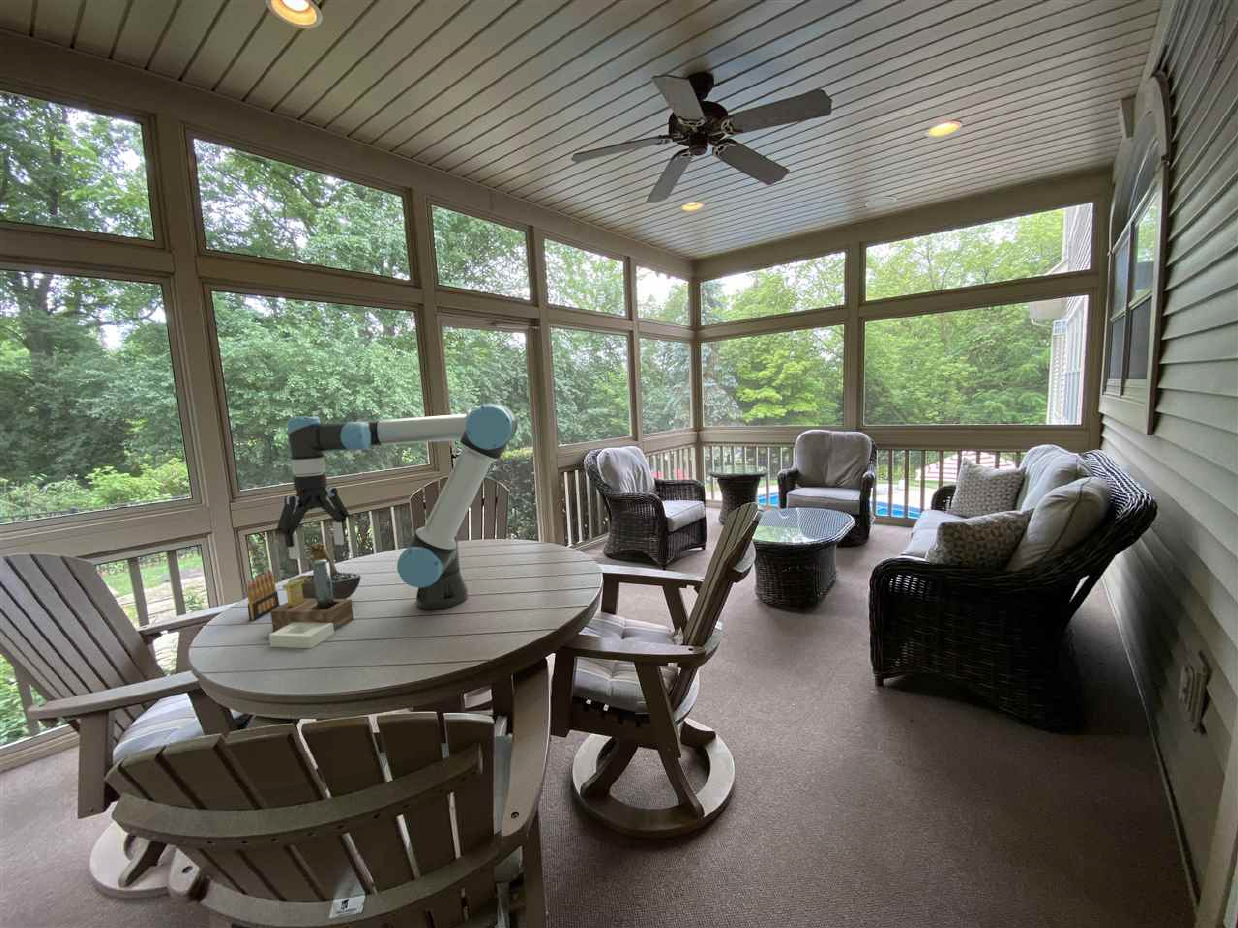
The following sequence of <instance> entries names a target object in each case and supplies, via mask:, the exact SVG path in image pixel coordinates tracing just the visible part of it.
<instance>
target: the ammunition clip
mask: <svg viewBox="0 0 1238 928" xmlns="http://www.w3.org/2000/svg"><path fill="white" fill-rule="evenodd" d="M247 601H248V603H247V613H248V621H249V622H250V621H251V622H254V621H257V620H259V619H261V618H262V617H264V616H265V615H268V614H269V613H270V611H271V610H273V609H275V608H277V607H279V606H280V601H279V594H278V590H277V589H276V583H275V580H274V574H273V572H272V571H271V570H270V569H268V573H267V572H265V573H264V575H263V573H261V574H260V577H259V575H257V576H256V579H255V577H253V578H252V581H251V580H250V579H249V580H248V581H247Z"/></svg>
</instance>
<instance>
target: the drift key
mask: <svg viewBox="0 0 1238 928" xmlns="http://www.w3.org/2000/svg"><path fill="white" fill-rule="evenodd" d="M302 583H305V582H304V579H296V580H293V581H291V582H289V581H288V582H287V583H284V584H282V590H285V591H286V597H287V602H288V606H289V608H293V607H295V606H297V605H299V604H301V603H303V602H304V600H303V592H302Z"/></svg>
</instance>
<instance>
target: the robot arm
mask: <svg viewBox="0 0 1238 928" xmlns="http://www.w3.org/2000/svg"><path fill="white" fill-rule="evenodd" d="M517 430H518V420H517V416H516V415H515V413H514V412H513V411H512V410H511V408H508V406H505V405H502V404H496V403H485V404H482V405H479V406H477V407H476V408H475V409H469V411H468V412H467V413H459V414H458V413H455V414H447V415H446V414H445V415H443V414H442V415H429V416H419V417H417V416H415V417H404V418H403V417H401V418H390V419H379V420H378V419H375V420H361V421H349V422H332V423H331V422H330V423H329V422H328V423H322V422H321V420H320V417H318V416H299V417H295V416H294V417H290V418H289V419H288V420H287V436H288V443H289V451H290V455H291V456H290V458H291V459H290V460H291V468H292V474H293V475H294V476H293V478H292V479H293V487H294V490H295V492H296V494H295V495H294V496H293V495H285V496H284V506H283V509H282V512H281V515H280V518H279V520H278V524H277V526H276V530H275V533H276V534H278V535H283V536H284V540H285V541H284V542H285V546H286V548H288V553H289V555H288V556H289V559H292V560H299V559H301V555H300V547H299V546H300V545H299V540H298V539H299V538H298V534H297V533H295V532H296V530H297V529H298V527H299V525H300V523H301V522H302V519H303V518H304V516H305V515H306V513H307V512H309V510H314V509H319V508H320V509H322V510H324V512H325V513H327V514H328V515H329V516H330V517H331V518H332V520H334V521H332V532H333V540H334V541H333V542H334V545H335V546H336V545H337V546H338V545H339V546H343V545H344V544H345V540H344V532H345V526H344V525H345V523H344V522H346V521H347V519H348V518H350V513H349V512H348V510H347V508H346V507H345V505H344V503H343V501H342V500H341V498H340V497H339V494H338V489H337V488H336V487H329V488H327V486H328V484H327V482H328V481H327V474H325V472H326V463H325V457H324V456H325V455H324V452H341V451H342V452H344V451H345V452H346V451H352V452H355V451H360V450H366V449H368V448H369V447H380V446H390V445H391V446H392V445H393V446H394V445H395V446H396V445H405V444H406V445H407V444H418V443H432V442H433V443H435V442H447V441H459V444H460V446H461V451H460V454H459V455H458V457H457V459H456V462H455V463H454V465H453V468H452V469H451V471H450V474H449V476H448V477H447V480H446V482H445V483H444V486H443V488H442V490H441V492H440V494H439V495H438V498H437V500H436V502H435V504H434V506H433V507H432V510H431V511H430V514H429V516H428V518H427V520H426V522H425V525H423V526H421V527H419V528H417V529H415V532H414V533H413V536H412V538H411V540H410V542H409V544H407V545H408V546H407V547H406V549H405V550H403V551H402V553H400V556H399V557H398V560H397V564H396V566H397V567H396V568H397V573H398V575H399V577H400V579H402V581H403V582H404V583H406V584H407V585H409V586H411V587H415V588H417V591H416V594H415V595H416V596H415V602H416V606H417V607H418V608H420V609H424V610H438V609H440V610H441V609H446V608H449V607H454V606H457V605H458V604H459V605H460V604H461V603H463V602H464V601H466V600H467V599H468V597H469V590H468V587H467V585H466V582H465V580H464V578H463V576H462V574H461V567H460V555H459V553H460V552H459V545H458V544H459V543H458V531H459V529H460V527H461V525H462V523H463V521H464V519H465V517H466V515H467V513H468V511H469V509H470V507H471V505H472V503H473V501H474V499H475V497H476V495H477V493H478V491H479V489H480V486H481V484H482V483H483V481H484V478H485V477H486V474H487V473H488V471H489V469H490V467H491V465H492V463H495V462H498V461H500V459H501V457H502V455H503V453H504V451H505V449H506V447H507V446H508V443H509V441H511V440H512V439H513V438H514V437H515V435H516V432H517ZM326 488H327V489H326ZM327 497H328V499H329V500H328V499H327Z"/></svg>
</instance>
